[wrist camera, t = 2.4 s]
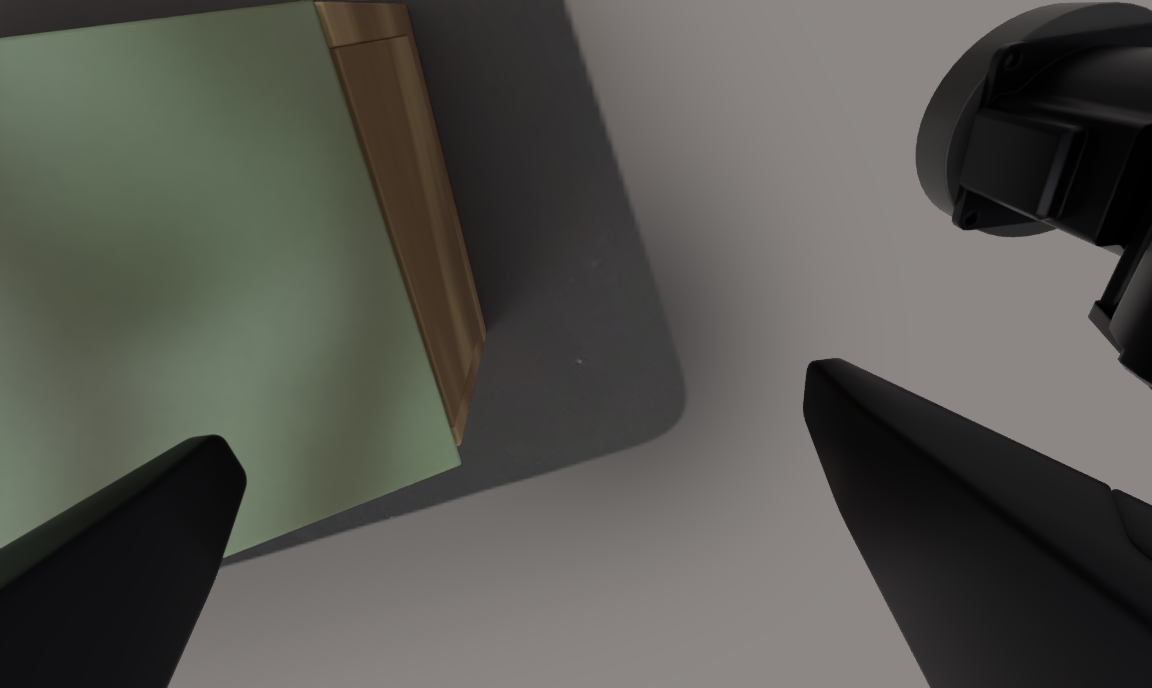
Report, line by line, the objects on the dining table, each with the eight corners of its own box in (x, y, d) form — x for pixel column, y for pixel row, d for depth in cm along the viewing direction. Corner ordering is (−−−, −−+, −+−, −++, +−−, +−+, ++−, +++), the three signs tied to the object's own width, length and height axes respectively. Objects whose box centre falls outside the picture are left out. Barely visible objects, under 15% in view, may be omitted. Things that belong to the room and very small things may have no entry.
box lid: (-159, 683, 12) (-184, 719, 12) (-988, 164, 6) (-1136, 177, 6) (456, 448, 17) (462, 465, 16) (312, 1, 11) (313, -1, 10)
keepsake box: (170, 371, 23) (39, 493, 17) (-21, 67, 17) (-322, 97, 11) (487, 333, 22) (461, 446, 17) (406, 3, 16) (321, 0, 11)
